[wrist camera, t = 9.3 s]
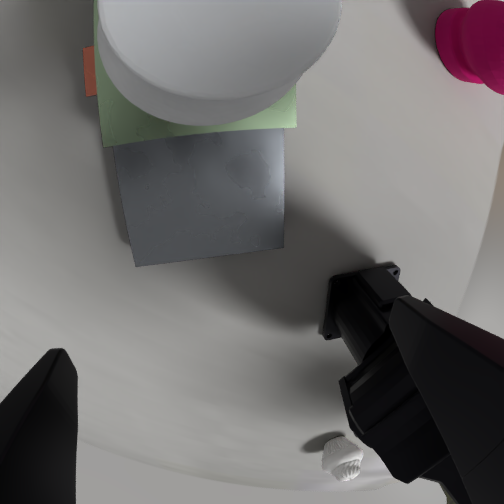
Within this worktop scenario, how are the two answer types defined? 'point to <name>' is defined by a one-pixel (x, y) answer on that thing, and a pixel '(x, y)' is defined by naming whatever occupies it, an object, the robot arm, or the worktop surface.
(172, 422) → the worktop surface
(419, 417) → the robot arm
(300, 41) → the supplement bottle
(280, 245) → the stand
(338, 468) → the muffin
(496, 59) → the pepper mill
